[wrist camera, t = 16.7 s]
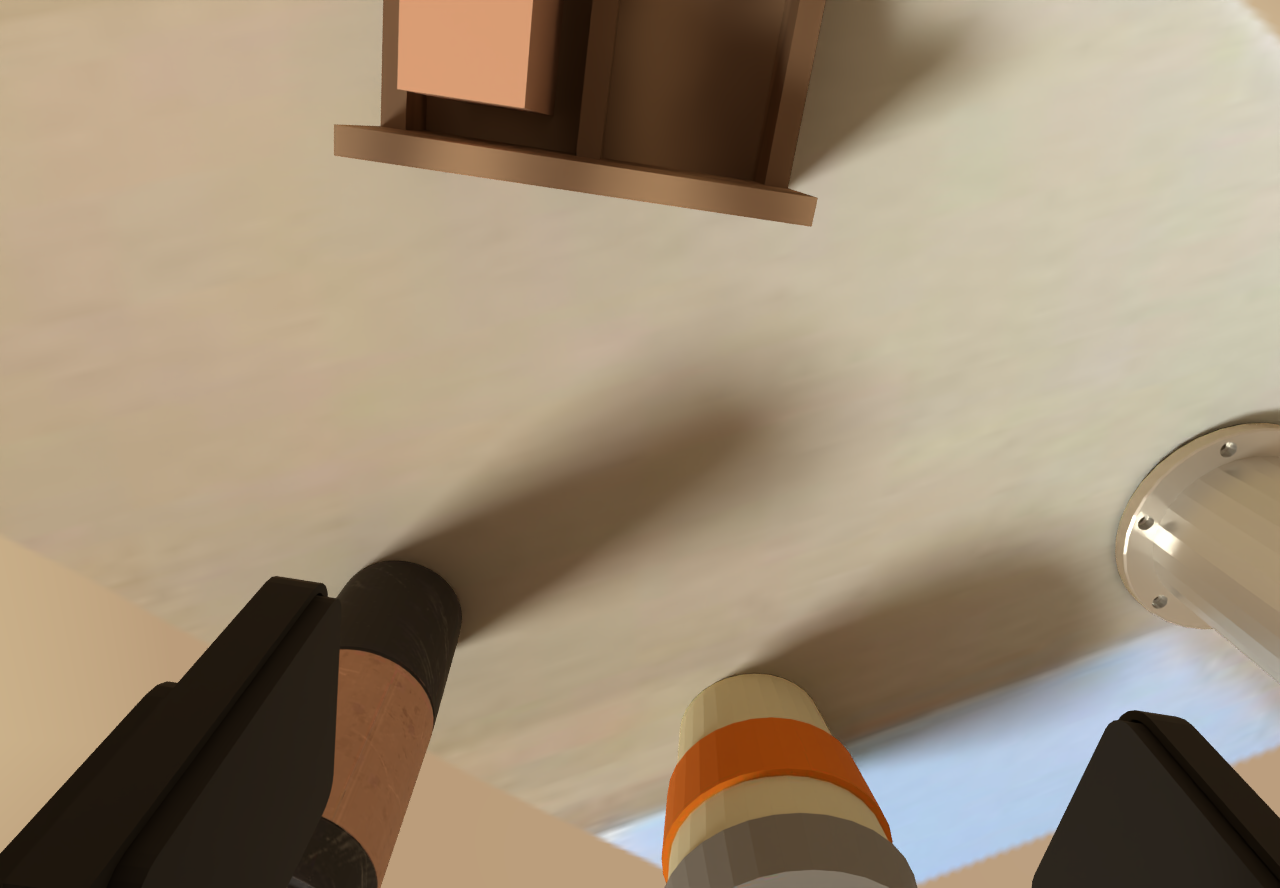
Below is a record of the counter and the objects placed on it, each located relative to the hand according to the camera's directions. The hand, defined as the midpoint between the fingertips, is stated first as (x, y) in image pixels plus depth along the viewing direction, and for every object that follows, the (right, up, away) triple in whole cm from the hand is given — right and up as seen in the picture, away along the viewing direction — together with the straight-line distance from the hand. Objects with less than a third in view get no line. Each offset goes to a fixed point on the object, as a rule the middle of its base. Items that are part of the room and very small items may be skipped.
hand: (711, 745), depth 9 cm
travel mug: (-15, -6, +36) cm, 40 cm away
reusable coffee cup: (+6, -15, +40) cm, 43 cm away
